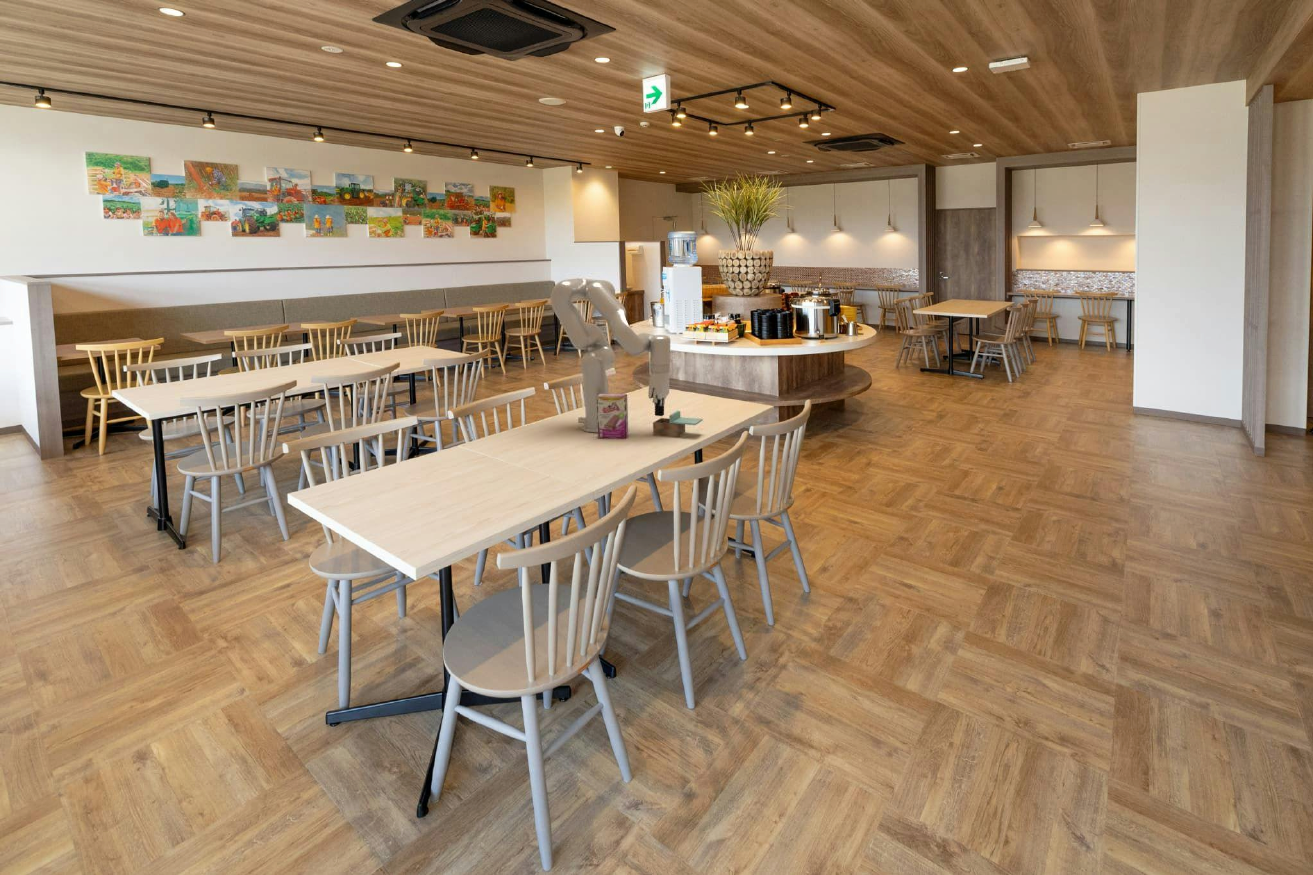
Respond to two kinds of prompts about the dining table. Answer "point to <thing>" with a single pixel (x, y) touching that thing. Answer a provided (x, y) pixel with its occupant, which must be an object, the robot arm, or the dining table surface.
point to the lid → (683, 419)
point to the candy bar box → (612, 415)
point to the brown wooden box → (667, 428)
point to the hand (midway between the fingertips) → (659, 415)
